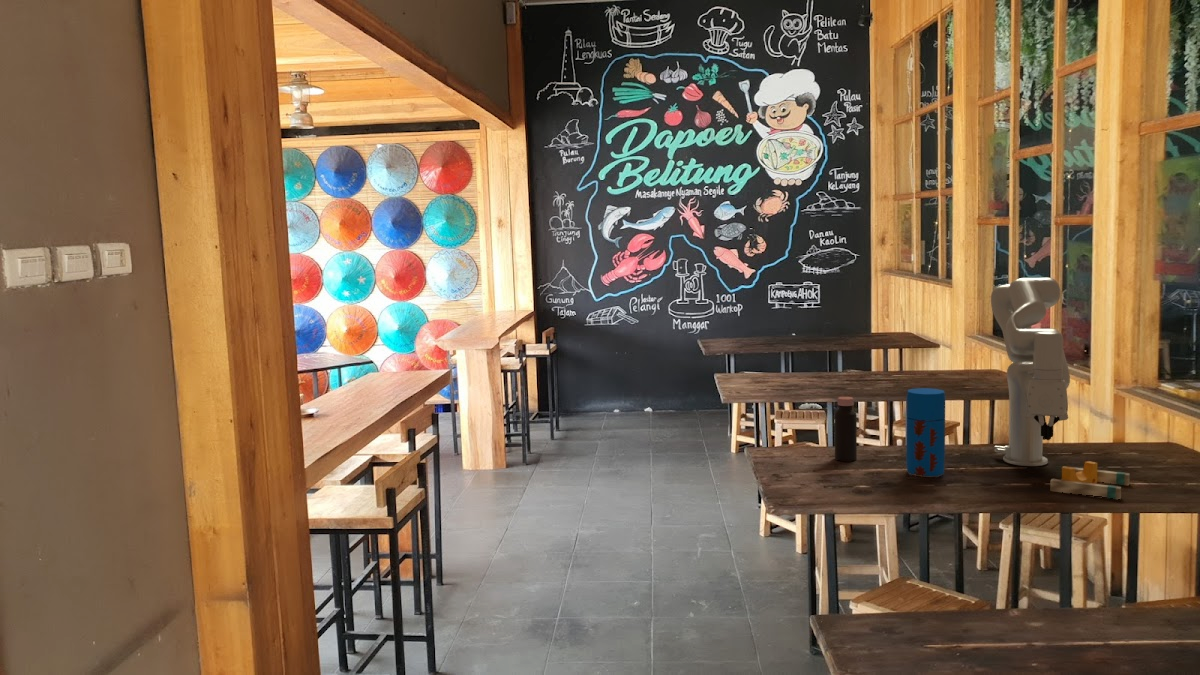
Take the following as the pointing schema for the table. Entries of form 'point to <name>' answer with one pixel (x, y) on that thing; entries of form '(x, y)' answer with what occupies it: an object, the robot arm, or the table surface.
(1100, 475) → the channel
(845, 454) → the bottle
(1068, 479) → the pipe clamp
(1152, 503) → the table surface
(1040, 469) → the table surface
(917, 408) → the thermos
